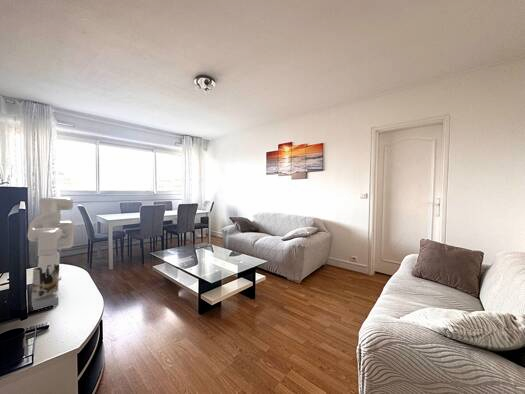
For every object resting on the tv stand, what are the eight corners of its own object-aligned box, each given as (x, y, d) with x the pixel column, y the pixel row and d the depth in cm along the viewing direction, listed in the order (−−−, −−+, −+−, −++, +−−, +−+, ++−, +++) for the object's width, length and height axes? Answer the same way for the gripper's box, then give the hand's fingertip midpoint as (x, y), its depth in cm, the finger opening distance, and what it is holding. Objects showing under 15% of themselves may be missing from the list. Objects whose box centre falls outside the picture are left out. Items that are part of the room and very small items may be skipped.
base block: (31, 304, 120) (31, 296, 120) (55, 298, 128) (55, 290, 128) (32, 312, 113) (33, 303, 113) (58, 305, 121) (58, 297, 121)
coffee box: (39, 298, 115) (40, 270, 115) (31, 296, 117) (32, 268, 116) (58, 291, 124) (60, 264, 124) (50, 289, 126) (51, 263, 125)
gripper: (34, 249, 121) (32, 278, 122) (42, 256, 112) (40, 288, 112) (51, 247, 127) (50, 275, 128) (61, 253, 118) (59, 283, 119)
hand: (46, 281), depth 120 cm, fingers closed on coffee box, 8 cm apart
